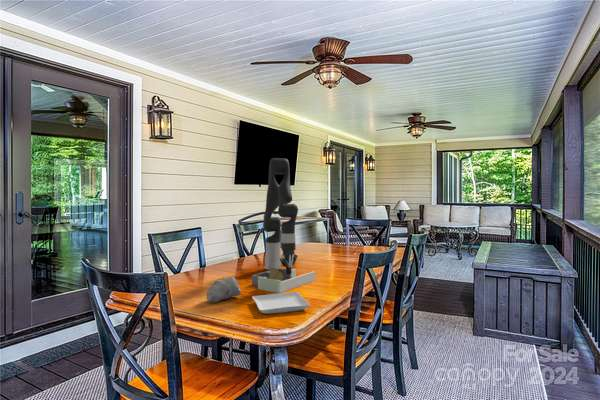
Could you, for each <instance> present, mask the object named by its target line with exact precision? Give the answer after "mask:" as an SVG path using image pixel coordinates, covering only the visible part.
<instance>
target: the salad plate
mask: <svg viewBox="0 0 600 400" xmlns="http://www.w3.org/2000/svg"><path fill="white" fill-rule="evenodd" d="M251 298H252V300H253V302H254V303H255V304H256V306H257V309H258V311H259V312H260V313H262V314H266V315H267V314H268V315H270V314H271V315H273V314H281V313H283V314H284V313H289V312H299V311H303V310H305V309H308V308H309V307H310V303H309V302H308V300H306V299H305V298H304V297H303V296H302V295H301V294H300V293H299V292H298V291H293V292H292V291H291V292H281V293H270V294H265V295H264V294H262V295H252V296H251Z"/></svg>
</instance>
